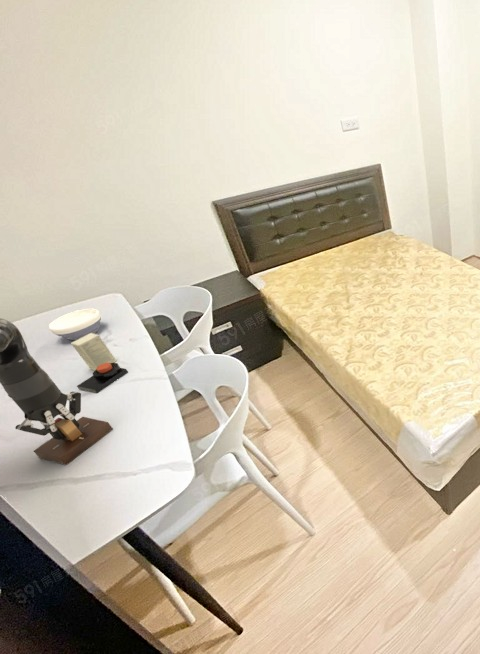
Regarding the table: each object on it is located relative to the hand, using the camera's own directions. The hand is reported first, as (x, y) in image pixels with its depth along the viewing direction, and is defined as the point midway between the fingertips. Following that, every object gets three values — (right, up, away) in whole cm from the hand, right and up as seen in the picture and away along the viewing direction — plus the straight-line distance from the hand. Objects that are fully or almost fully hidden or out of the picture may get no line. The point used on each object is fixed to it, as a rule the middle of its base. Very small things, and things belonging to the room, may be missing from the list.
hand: (69, 433), depth 110 cm
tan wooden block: (0, -1, 0) cm, 1 cm away
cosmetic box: (-21, +12, +31) cm, 40 cm away
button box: (-14, +9, +24) cm, 29 cm away
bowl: (-46, +21, +48) cm, 70 cm away
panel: (+1, -3, +2) cm, 4 cm away
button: (-14, +12, +24) cm, 30 cm away
